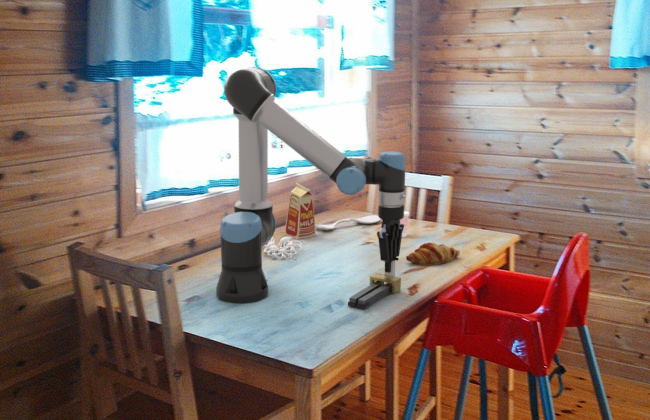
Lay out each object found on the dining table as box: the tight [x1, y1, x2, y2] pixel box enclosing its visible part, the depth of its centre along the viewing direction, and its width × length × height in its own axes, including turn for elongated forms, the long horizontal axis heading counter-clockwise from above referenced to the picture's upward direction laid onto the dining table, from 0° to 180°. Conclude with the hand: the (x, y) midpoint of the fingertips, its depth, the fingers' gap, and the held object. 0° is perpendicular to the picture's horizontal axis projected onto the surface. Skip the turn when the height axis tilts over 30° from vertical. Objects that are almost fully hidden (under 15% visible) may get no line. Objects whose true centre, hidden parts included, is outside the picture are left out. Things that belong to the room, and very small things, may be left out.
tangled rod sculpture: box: [262, 235, 303, 260], centre depth 258 cm, size 19×14×4 cm
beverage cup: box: [400, 210, 410, 238], centre depth 279 cm, size 6×6×14 cm
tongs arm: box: [347, 281, 385, 308], centre depth 212 cm, size 18×2×2 cm, turn 149°
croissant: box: [405, 242, 461, 266], centre depth 248 cm, size 21×10×8 cm, turn 117°
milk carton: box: [283, 182, 316, 240], centre depth 278 cm, size 9×9×20 cm
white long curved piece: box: [315, 214, 382, 231], centre depth 294 cm, size 9×32×4 cm, turn 125°
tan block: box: [369, 272, 402, 294], centre depth 218 cm, size 4×8×4 cm, turn 57°
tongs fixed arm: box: [355, 282, 392, 310], centre depth 213 cm, size 23×5×2 cm, turn 147°
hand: (389, 281), depth 221 cm, fingers closed
